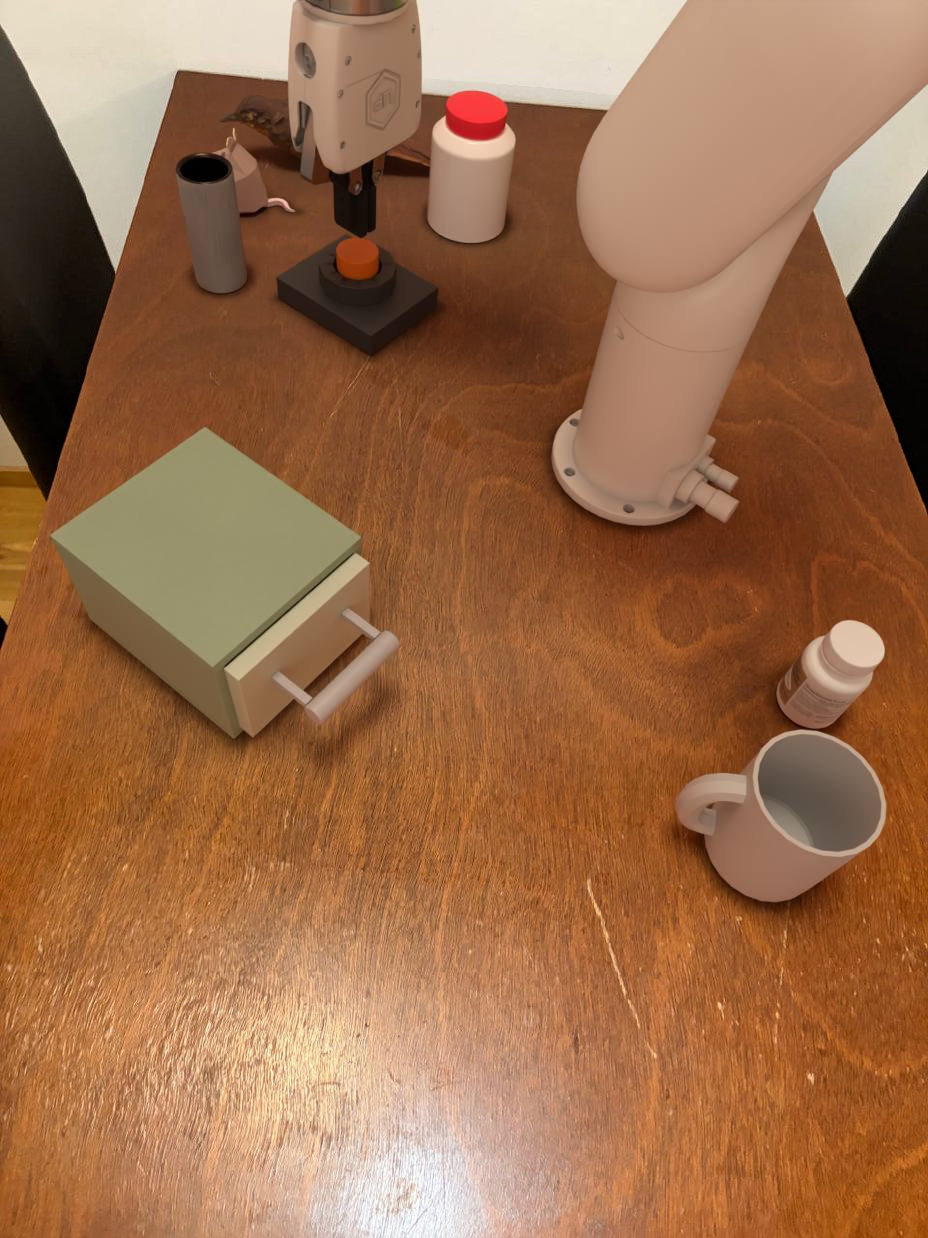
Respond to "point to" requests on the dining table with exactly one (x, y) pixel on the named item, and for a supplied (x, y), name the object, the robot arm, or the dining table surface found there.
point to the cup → (786, 814)
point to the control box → (358, 298)
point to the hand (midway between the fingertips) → (355, 226)
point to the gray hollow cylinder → (212, 221)
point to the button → (357, 259)
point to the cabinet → (199, 563)
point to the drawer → (309, 651)
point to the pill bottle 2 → (830, 674)
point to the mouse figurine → (248, 179)
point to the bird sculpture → (275, 125)
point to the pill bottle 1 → (470, 168)
